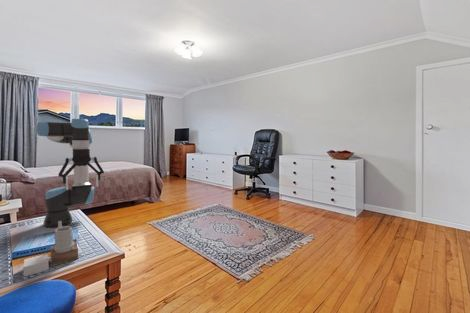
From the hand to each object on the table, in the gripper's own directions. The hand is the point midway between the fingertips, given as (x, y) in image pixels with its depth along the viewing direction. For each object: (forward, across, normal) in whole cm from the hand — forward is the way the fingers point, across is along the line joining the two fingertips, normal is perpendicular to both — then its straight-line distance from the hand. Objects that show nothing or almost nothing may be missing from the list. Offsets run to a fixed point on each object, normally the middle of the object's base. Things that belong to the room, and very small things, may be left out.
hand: (82, 187), depth 125 cm
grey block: (+30, -20, -19) cm, 40 cm away
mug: (+25, -10, -14) cm, 30 cm away
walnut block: (+30, -10, -14) cm, 34 cm away
